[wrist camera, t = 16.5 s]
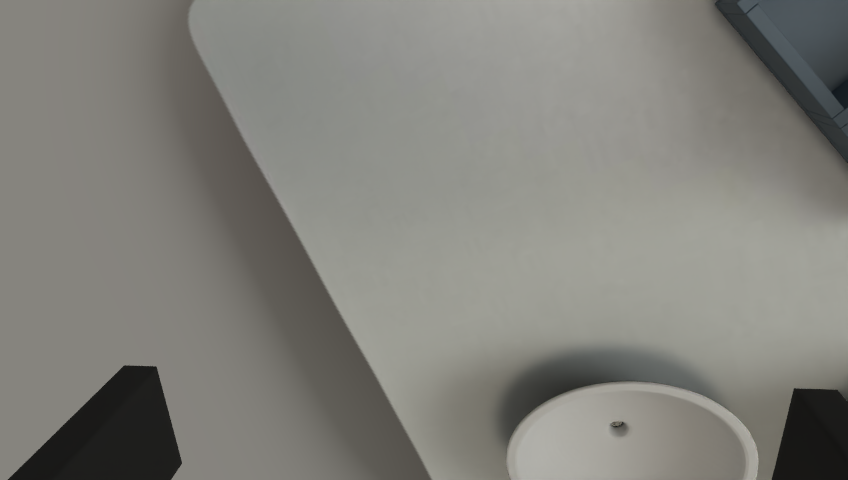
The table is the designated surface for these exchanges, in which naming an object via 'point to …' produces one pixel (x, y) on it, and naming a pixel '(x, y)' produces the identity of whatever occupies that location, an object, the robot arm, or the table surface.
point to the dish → (631, 437)
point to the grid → (802, 54)
